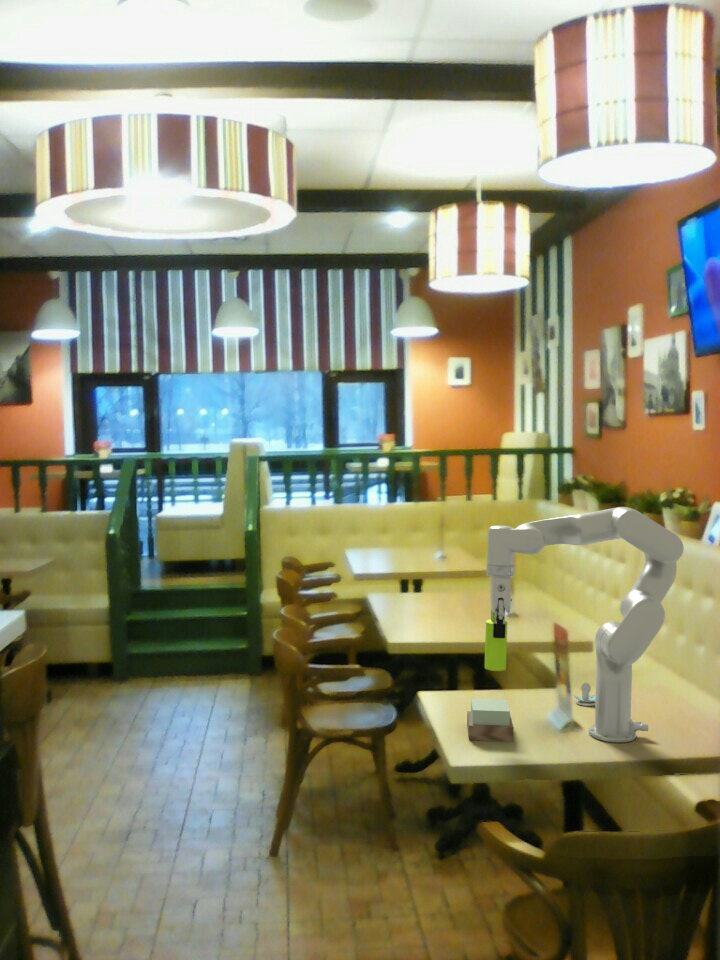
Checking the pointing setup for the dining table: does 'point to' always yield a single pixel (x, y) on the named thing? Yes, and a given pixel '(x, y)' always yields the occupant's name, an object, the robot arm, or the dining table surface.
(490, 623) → the soap dispenser
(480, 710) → the pale green square tile
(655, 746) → the dining table surface
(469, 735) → the riser base
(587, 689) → the pacifier
